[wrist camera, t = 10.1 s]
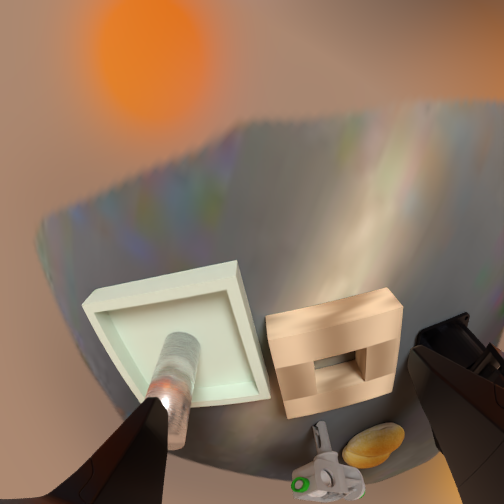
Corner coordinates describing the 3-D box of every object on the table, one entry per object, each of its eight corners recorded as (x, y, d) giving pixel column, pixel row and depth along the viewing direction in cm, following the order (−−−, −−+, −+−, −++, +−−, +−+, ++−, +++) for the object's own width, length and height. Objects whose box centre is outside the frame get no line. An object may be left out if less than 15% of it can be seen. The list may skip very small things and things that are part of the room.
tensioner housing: (386, 287, 21) (403, 306, 18) (381, 371, 25) (391, 391, 22) (265, 315, 22) (267, 340, 19) (284, 395, 25) (287, 419, 22)
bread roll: (410, 416, 29) (419, 438, 25) (378, 450, 32) (385, 470, 29) (360, 421, 28) (368, 446, 25) (332, 455, 32) (337, 477, 28)
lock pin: (193, 328, 21) (172, 425, 13) (205, 357, 22) (192, 450, 14) (158, 334, 21) (126, 424, 13) (172, 361, 22) (149, 449, 14)
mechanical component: (334, 439, 29) (349, 504, 20) (278, 417, 27) (286, 498, 17) (352, 428, 29) (372, 494, 19) (298, 404, 26) (312, 488, 17)
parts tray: (237, 259, 20) (235, 276, 18) (269, 378, 24) (270, 398, 22) (95, 289, 21) (81, 304, 18) (150, 390, 25) (144, 408, 23)
